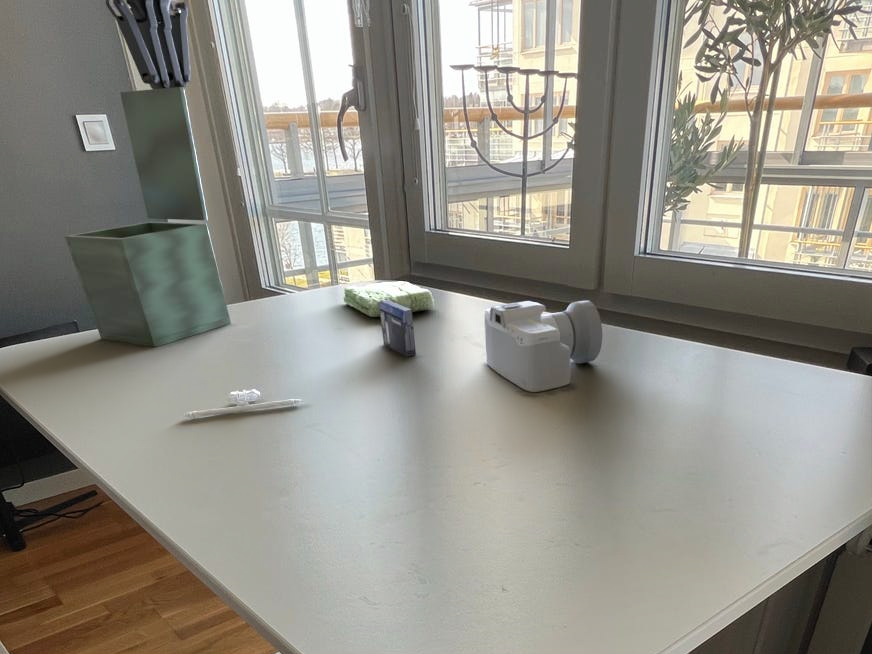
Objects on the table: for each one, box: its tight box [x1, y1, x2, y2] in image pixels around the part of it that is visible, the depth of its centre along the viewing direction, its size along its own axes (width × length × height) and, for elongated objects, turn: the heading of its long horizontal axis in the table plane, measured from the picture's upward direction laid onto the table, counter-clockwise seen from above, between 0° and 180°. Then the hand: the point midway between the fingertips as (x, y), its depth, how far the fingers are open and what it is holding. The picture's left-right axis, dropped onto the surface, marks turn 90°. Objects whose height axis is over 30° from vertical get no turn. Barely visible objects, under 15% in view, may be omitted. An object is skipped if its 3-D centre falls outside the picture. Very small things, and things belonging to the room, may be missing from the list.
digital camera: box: [483, 300, 603, 393], centre depth 89 cm, size 17×14×10 cm
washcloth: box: [343, 281, 435, 318], centre depth 125 cm, size 13×18×3 cm
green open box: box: [64, 221, 232, 348], centre depth 114 cm, size 16×14×15 cm
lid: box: [119, 87, 208, 221], centre depth 110 cm, size 17×14×1 cm
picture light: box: [183, 388, 303, 419], centre depth 85 cm, size 14×4×2 cm, turn 104°
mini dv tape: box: [379, 300, 417, 357], centre depth 101 cm, size 8×2×6 cm, turn 30°
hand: (182, 140), depth 111 cm, fingers closed
